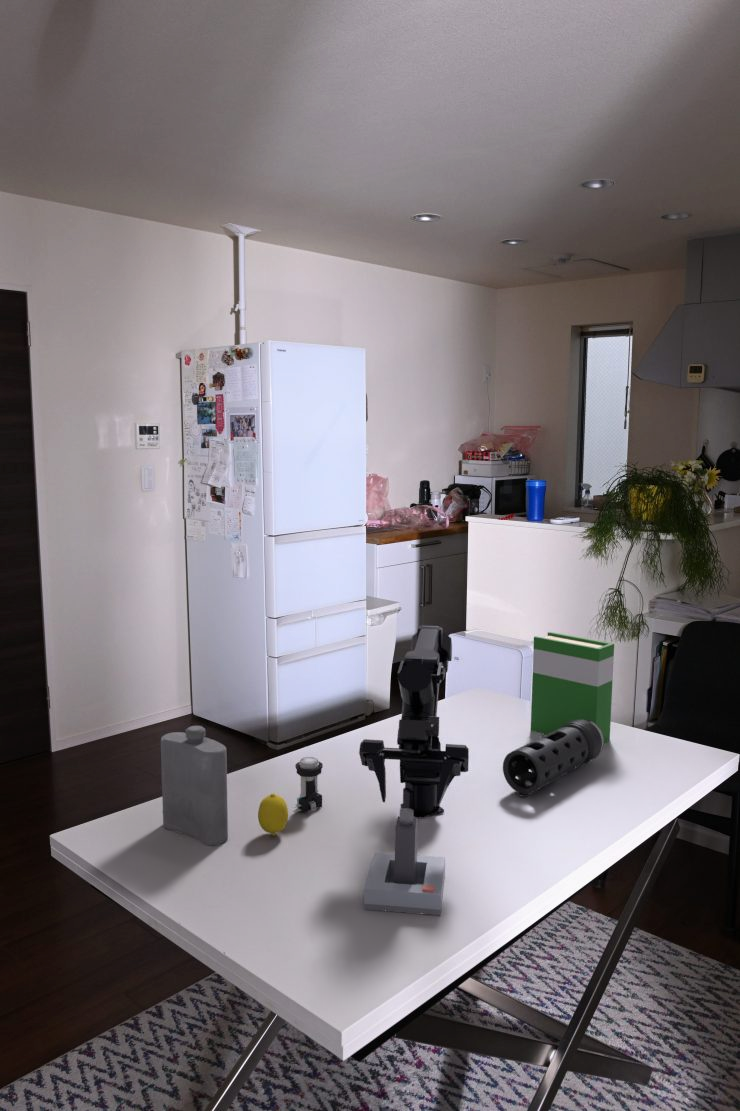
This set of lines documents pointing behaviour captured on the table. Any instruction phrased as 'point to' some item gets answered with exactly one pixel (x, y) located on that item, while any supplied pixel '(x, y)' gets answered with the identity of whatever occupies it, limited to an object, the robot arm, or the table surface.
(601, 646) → the hardback book
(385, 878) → the socket box
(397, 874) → the plug
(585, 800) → the table surface
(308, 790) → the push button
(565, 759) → the muzzle brake
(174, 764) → the flask
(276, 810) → the lemon
